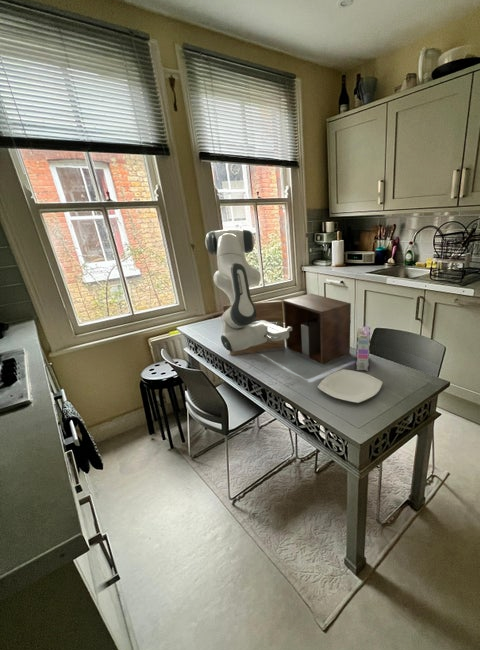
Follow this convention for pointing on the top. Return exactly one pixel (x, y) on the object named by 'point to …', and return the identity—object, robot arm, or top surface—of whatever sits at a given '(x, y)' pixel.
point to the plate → (350, 386)
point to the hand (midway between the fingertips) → (285, 325)
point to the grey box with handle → (311, 337)
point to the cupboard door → (268, 313)
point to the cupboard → (332, 325)
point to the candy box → (363, 348)
